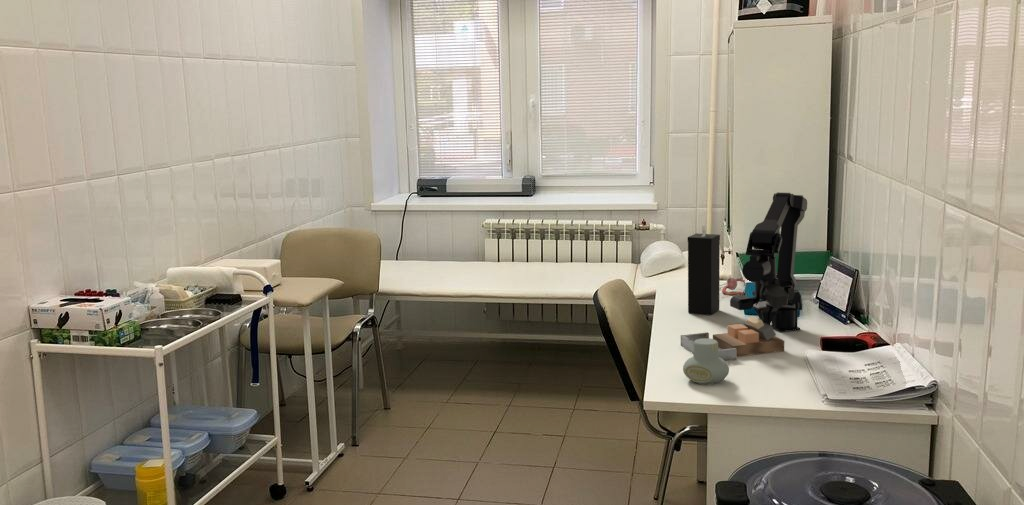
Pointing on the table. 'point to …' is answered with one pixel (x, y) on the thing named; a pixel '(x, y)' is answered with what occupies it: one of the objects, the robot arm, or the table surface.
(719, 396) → the table surface
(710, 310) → the tall black pillar
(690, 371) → the air freshener
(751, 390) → the table surface
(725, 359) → the tray
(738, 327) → the tile
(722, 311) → the table surface
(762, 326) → the grey and beige block
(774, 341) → the board
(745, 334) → the tile
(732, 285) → the pink ball with cord
